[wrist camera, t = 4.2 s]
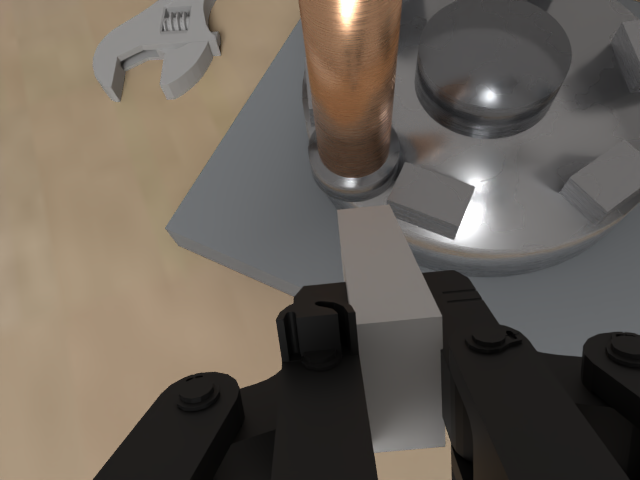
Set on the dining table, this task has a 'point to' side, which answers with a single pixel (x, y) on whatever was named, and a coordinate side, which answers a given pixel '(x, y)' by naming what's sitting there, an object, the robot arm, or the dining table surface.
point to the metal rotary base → (477, 123)
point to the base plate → (323, 230)
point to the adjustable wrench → (160, 46)
